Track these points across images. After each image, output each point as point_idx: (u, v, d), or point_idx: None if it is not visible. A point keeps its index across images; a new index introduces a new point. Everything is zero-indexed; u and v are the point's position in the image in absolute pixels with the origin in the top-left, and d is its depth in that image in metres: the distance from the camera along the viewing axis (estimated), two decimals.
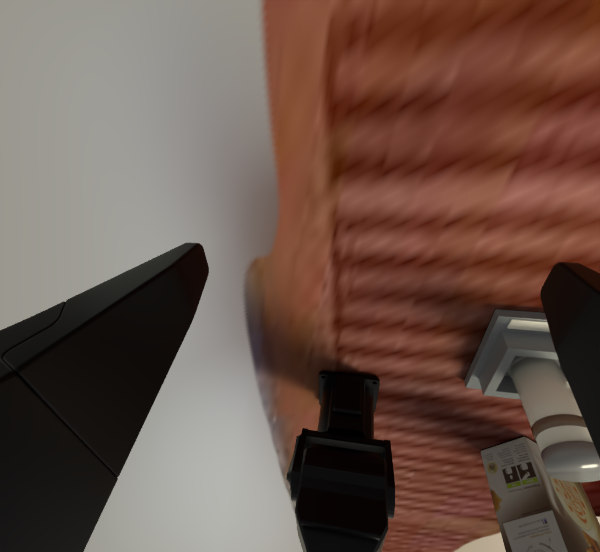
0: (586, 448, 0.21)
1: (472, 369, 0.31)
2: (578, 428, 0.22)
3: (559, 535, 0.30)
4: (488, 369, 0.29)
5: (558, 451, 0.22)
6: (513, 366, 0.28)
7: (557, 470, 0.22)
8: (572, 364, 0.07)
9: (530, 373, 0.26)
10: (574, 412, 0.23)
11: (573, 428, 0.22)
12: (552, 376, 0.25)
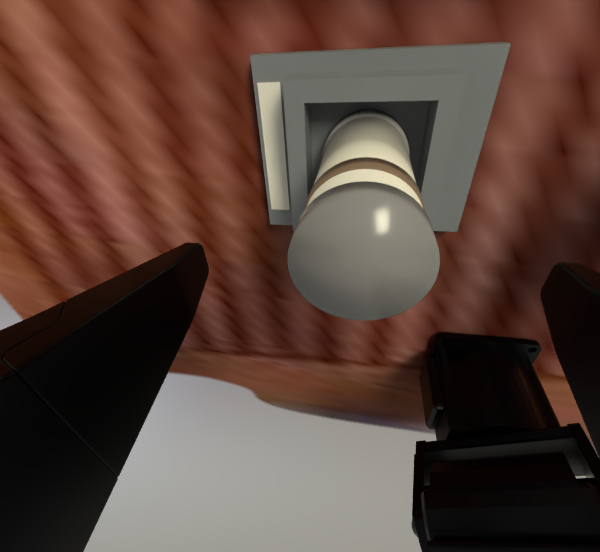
0: None
1: None
2: None
3: None
4: None
5: None
6: None
7: (376, 302, 0.09)
8: (572, 364, 0.07)
9: None
10: None
11: None
12: None
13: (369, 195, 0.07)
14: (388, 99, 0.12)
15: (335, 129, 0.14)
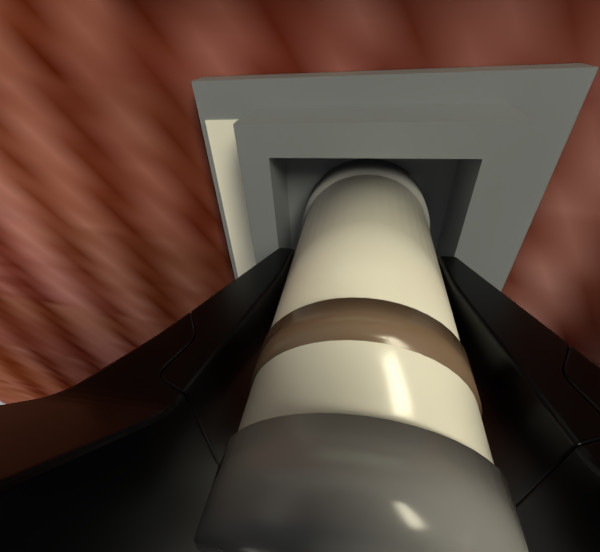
0: None
1: None
2: None
3: None
4: None
5: None
6: None
7: None
8: None
9: None
10: None
11: None
12: None
13: (372, 507, 0.03)
14: (400, 156, 0.08)
15: (320, 190, 0.09)
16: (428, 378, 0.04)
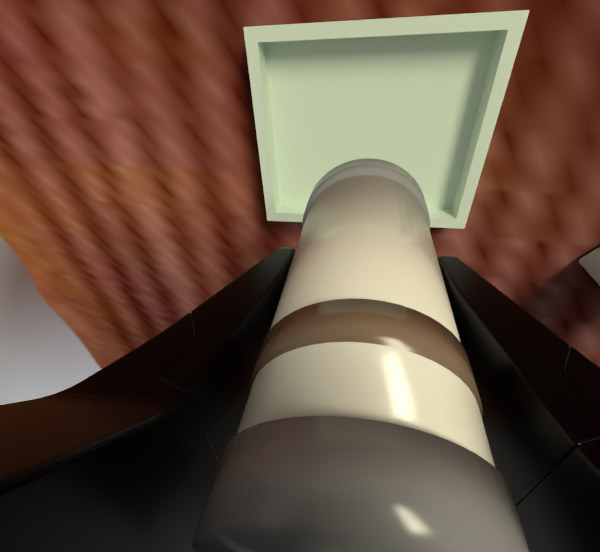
0: None
1: None
2: None
3: None
4: None
5: None
6: None
7: None
8: None
9: None
10: None
11: None
12: None
13: (372, 514, 0.03)
14: None
15: (319, 190, 0.09)
16: (429, 380, 0.04)
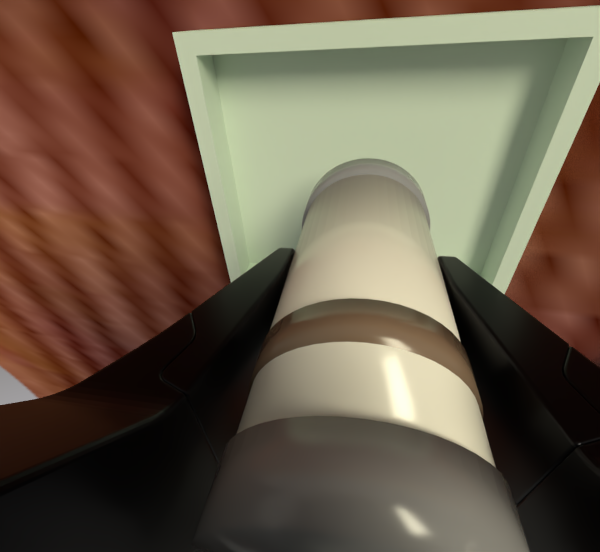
0: None
1: None
2: None
3: None
4: None
5: None
6: None
7: None
8: None
9: None
10: None
11: None
12: None
13: (372, 514, 0.03)
14: None
15: (319, 190, 0.09)
16: (429, 380, 0.04)
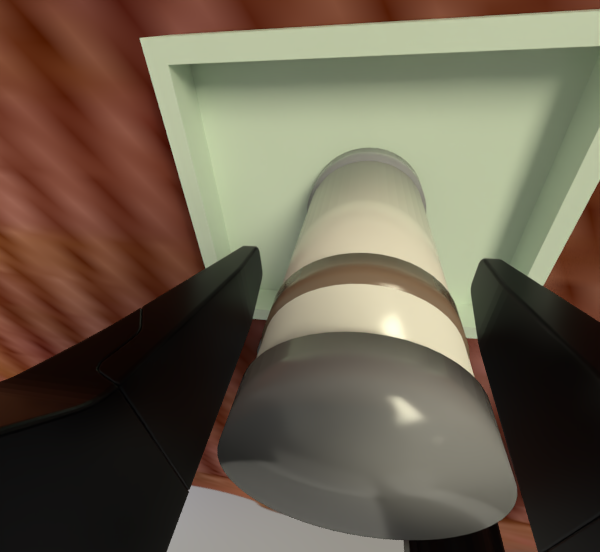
0: None
1: None
2: None
3: None
4: None
5: None
6: None
7: (384, 524, 0.05)
8: (489, 356, 0.07)
9: None
10: None
11: None
12: None
13: (370, 391, 0.03)
14: None
15: (324, 176, 0.10)
16: (420, 313, 0.05)
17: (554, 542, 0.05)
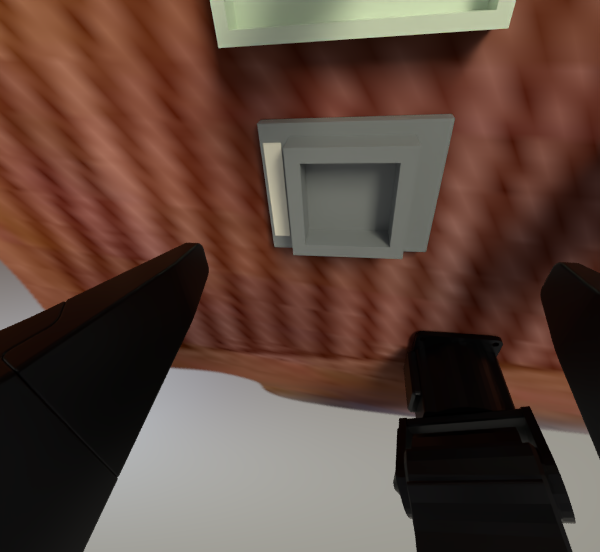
0: None
1: None
2: None
3: None
4: None
5: None
6: None
7: None
8: (572, 364, 0.07)
9: None
10: None
11: None
12: None
13: None
14: (363, 162, 0.16)
15: None
16: None
17: None
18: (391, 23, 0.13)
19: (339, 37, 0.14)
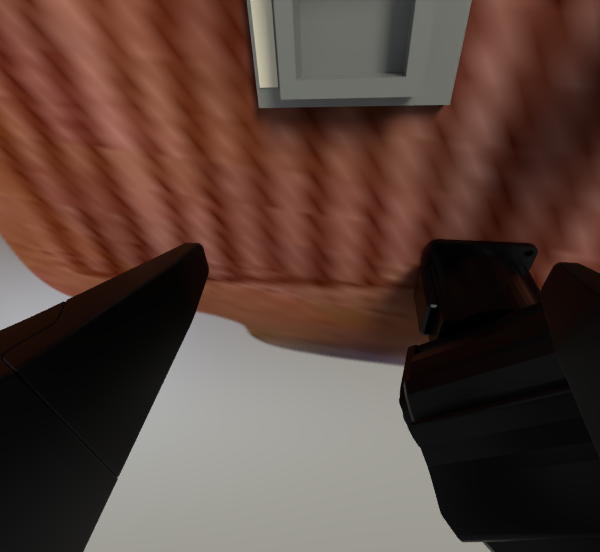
0: None
1: (398, 104, 0.17)
2: None
3: None
4: None
5: None
6: None
7: None
8: (572, 364, 0.07)
9: None
10: None
11: None
12: None
13: None
14: None
15: None
16: None
17: None
18: None
19: None
